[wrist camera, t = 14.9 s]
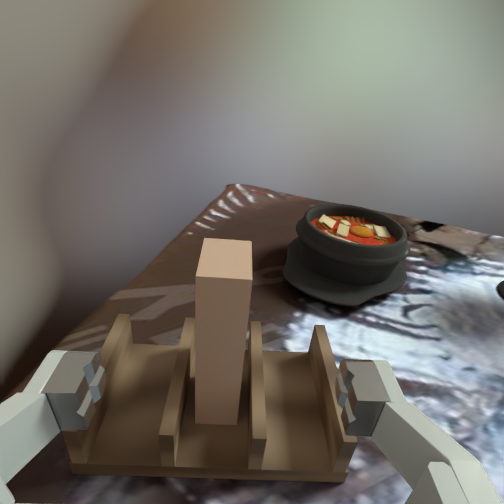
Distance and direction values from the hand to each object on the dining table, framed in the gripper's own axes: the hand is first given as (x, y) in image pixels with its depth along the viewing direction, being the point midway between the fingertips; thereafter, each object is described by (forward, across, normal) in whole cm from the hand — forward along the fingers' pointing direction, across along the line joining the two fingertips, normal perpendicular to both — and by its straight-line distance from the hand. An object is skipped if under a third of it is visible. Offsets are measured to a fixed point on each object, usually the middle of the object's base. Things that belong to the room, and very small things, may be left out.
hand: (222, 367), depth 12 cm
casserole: (+37, -17, +21) cm, 46 cm away
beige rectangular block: (+12, +1, +18) cm, 21 cm away
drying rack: (+12, +1, +19) cm, 23 cm away
